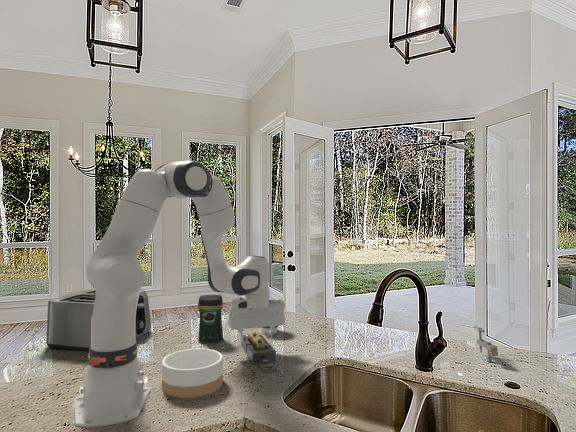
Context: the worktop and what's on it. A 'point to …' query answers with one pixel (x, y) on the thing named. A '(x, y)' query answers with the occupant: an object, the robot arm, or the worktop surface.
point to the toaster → (84, 319)
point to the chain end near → (263, 357)
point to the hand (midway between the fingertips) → (256, 339)
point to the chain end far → (247, 342)
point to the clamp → (486, 345)
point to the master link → (257, 342)
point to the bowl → (192, 373)
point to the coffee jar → (210, 319)
